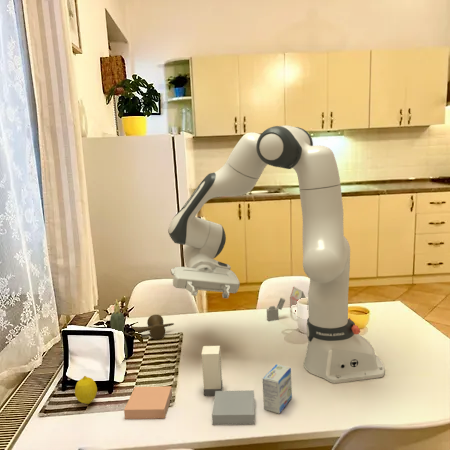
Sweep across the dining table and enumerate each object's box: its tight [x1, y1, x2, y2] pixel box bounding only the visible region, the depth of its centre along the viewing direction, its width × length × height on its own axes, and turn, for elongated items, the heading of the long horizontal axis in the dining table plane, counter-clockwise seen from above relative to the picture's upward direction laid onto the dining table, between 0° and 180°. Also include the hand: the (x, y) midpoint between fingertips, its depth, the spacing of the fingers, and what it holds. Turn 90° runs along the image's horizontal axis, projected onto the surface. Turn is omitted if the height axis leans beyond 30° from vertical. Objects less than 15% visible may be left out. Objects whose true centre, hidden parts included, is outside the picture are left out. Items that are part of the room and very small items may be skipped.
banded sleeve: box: [201, 345, 224, 397], centre depth 111 cm, size 5×5×12 cm
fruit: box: [74, 375, 98, 405], centre depth 109 cm, size 6×6×8 cm
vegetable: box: [109, 298, 128, 357], centre depth 130 cm, size 4×4×20 cm
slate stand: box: [211, 389, 256, 426], centre depth 103 cm, size 10×10×2 cm
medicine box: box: [261, 363, 293, 415], centre depth 105 cm, size 8×4×9 cm, turn 148°
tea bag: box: [289, 286, 307, 312], centre depth 161 cm, size 4×7×10 cm, turn 21°
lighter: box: [266, 297, 286, 322], centre depth 157 cm, size 7×2×8 cm, turn 105°
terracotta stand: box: [123, 385, 173, 420], centre depth 107 cm, size 10×10×2 cm
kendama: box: [131, 314, 175, 340], centre depth 149 cm, size 6×10×20 cm
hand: (210, 294), depth 119 cm, fingers open, 8 cm apart
